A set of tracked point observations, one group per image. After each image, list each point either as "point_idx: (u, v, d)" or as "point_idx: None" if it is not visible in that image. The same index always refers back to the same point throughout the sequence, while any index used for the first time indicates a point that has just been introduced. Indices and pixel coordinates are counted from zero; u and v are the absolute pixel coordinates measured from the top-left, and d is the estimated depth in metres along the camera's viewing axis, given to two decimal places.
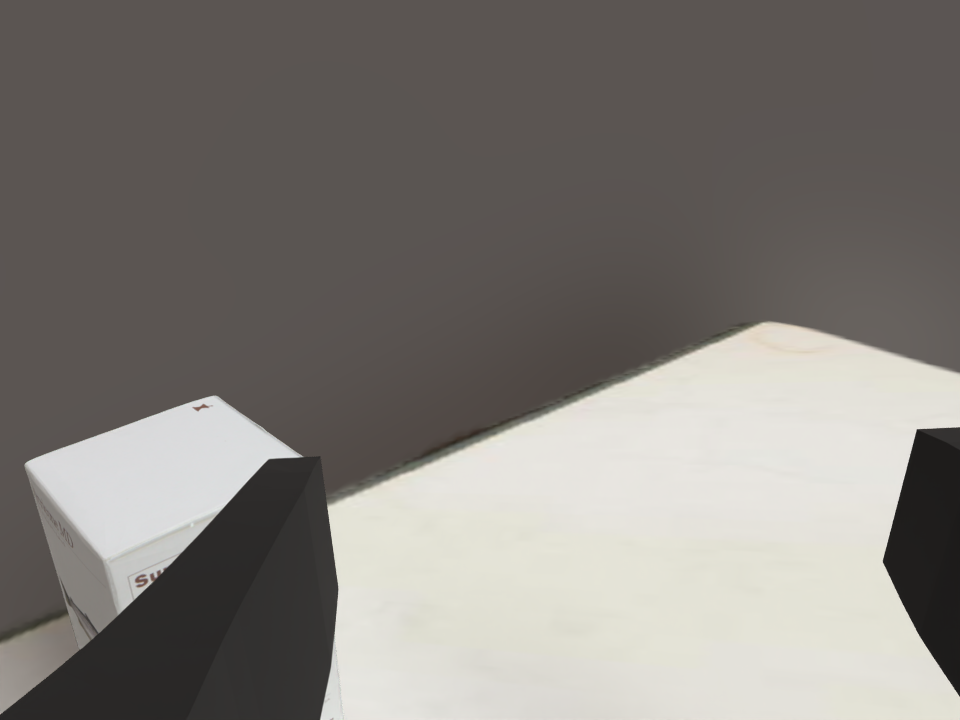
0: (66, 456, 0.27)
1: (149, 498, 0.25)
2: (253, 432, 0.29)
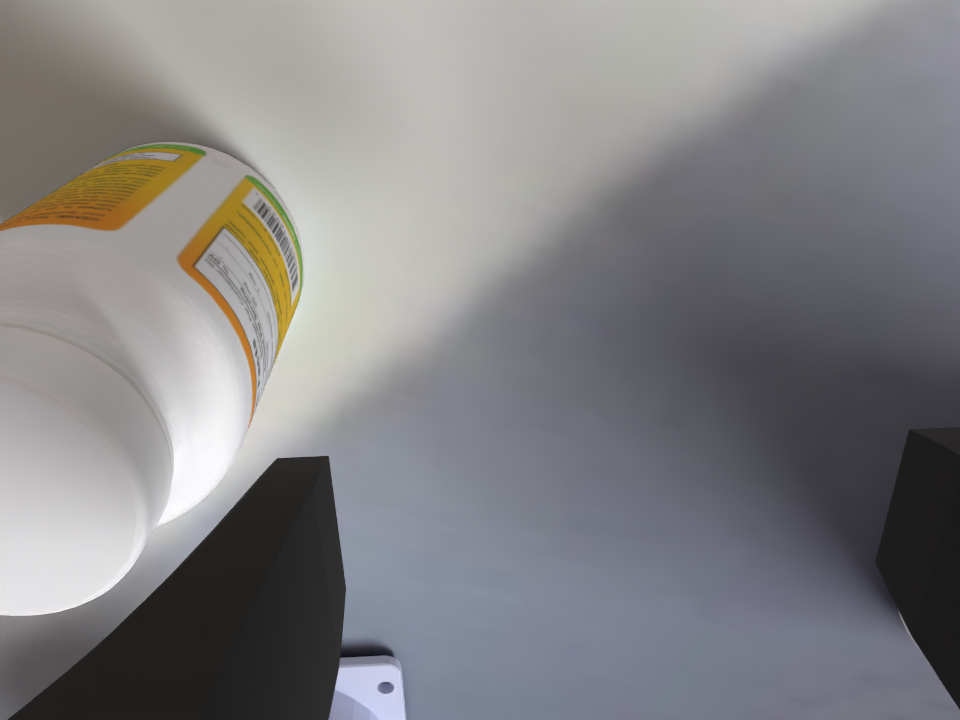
0: None
1: None
2: None
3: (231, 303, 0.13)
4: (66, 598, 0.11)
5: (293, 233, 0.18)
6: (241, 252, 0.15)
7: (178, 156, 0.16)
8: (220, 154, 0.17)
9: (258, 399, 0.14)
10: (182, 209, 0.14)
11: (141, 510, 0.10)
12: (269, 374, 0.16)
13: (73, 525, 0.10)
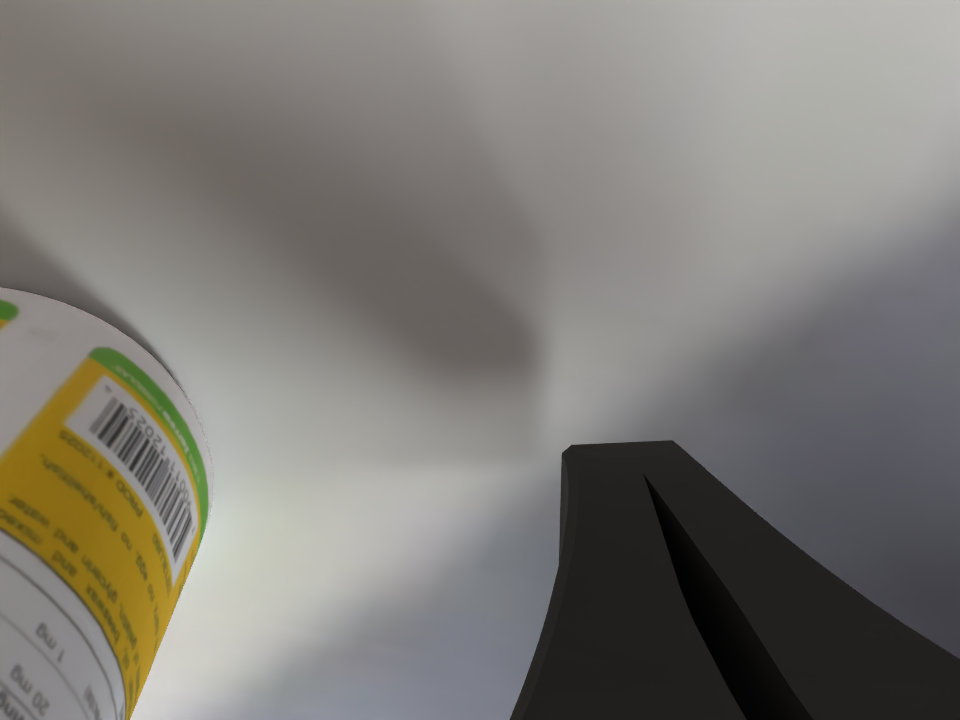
0: None
1: None
2: None
3: None
4: None
5: (185, 439, 0.10)
6: (25, 576, 0.07)
7: None
8: (49, 309, 0.10)
9: None
10: None
11: None
12: None
13: None
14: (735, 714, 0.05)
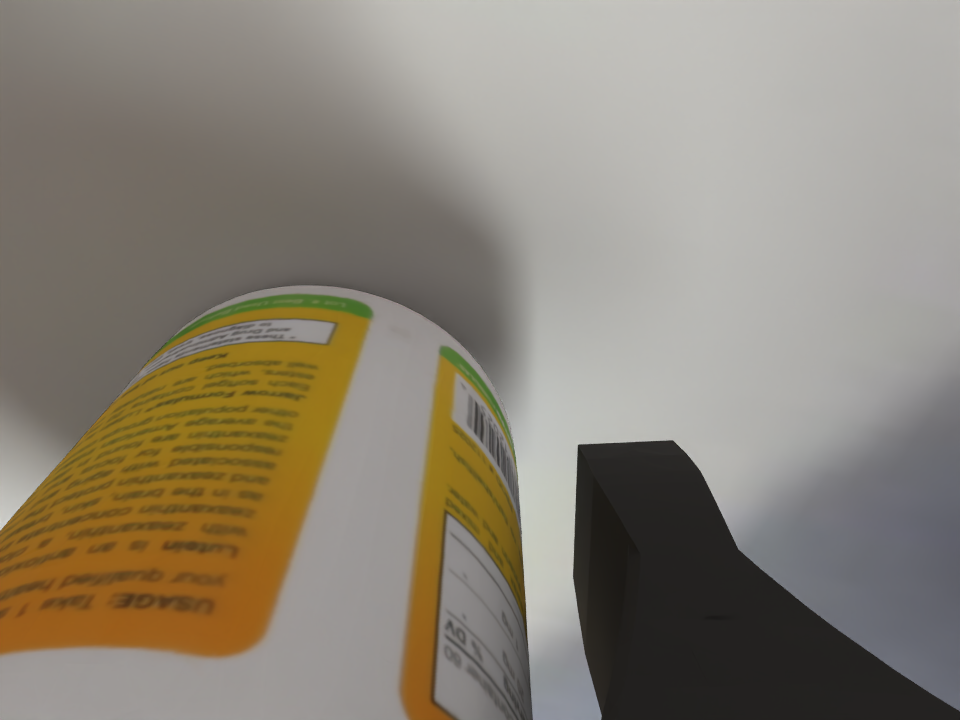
0: None
1: None
2: None
3: None
4: None
5: (510, 438, 0.10)
6: (482, 565, 0.07)
7: (331, 328, 0.09)
8: (393, 309, 0.10)
9: None
10: (373, 494, 0.07)
11: None
12: None
13: None
14: (827, 709, 0.05)
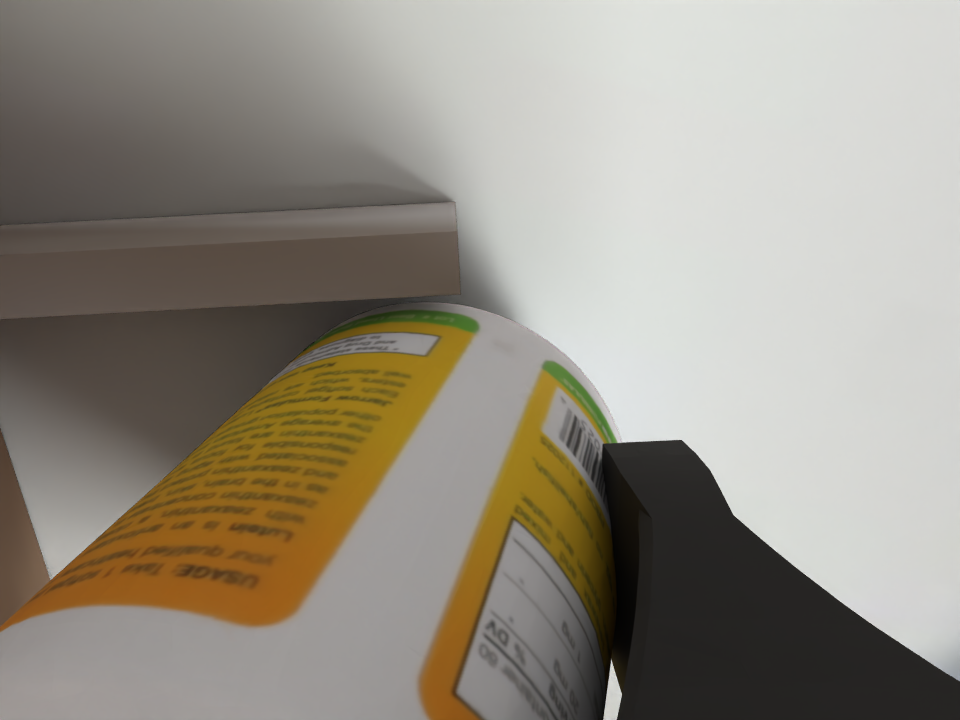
0: None
1: None
2: None
3: None
4: None
5: None
6: (545, 573, 0.07)
7: (434, 342, 0.09)
8: (501, 324, 0.10)
9: None
10: (436, 494, 0.07)
11: None
12: None
13: None
14: (843, 709, 0.05)
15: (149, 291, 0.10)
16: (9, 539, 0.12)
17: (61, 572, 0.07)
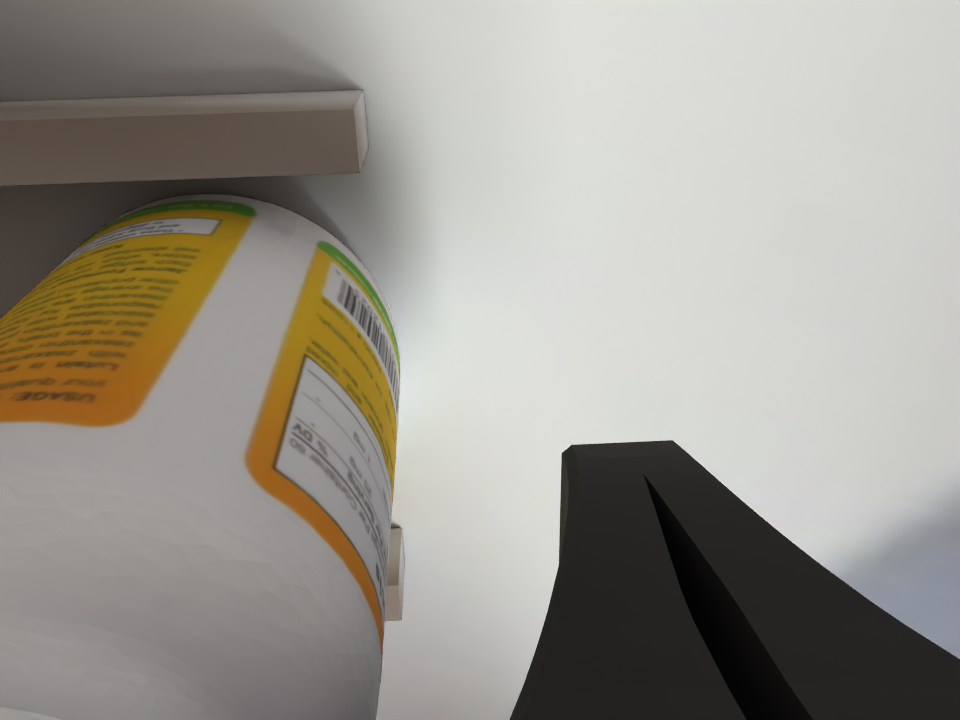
0: None
1: None
2: None
3: (341, 517, 0.07)
4: None
5: (388, 321, 0.12)
6: (336, 397, 0.09)
7: (215, 223, 0.10)
8: (276, 211, 0.11)
9: None
10: (239, 336, 0.08)
11: None
12: None
13: None
14: (735, 716, 0.05)
15: (58, 163, 0.10)
16: None
17: None
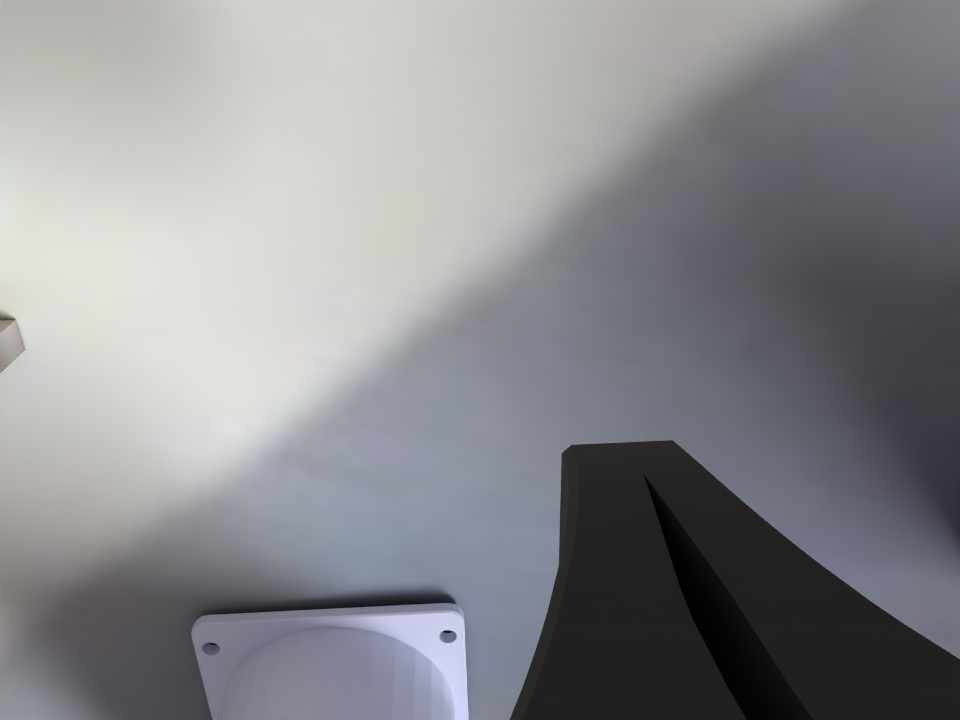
0: None
1: None
2: None
3: None
4: None
5: None
6: None
7: None
8: None
9: None
10: None
11: None
12: None
13: None
14: (735, 716, 0.05)
15: None
16: None
17: None
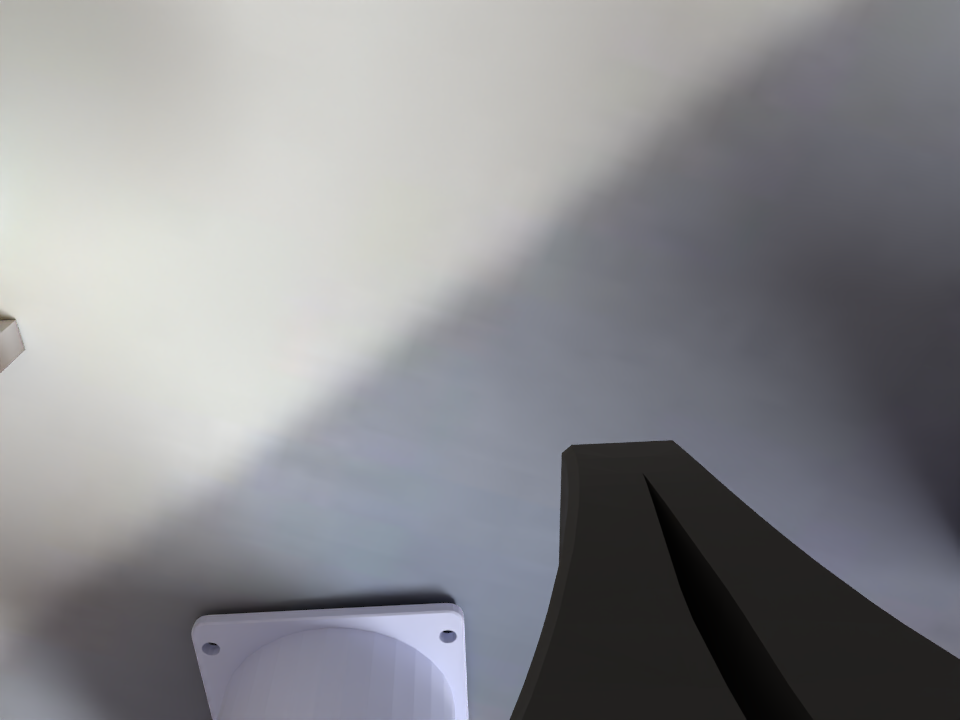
0: None
1: None
2: None
3: None
4: None
5: None
6: None
7: None
8: None
9: None
10: None
11: None
12: None
13: None
14: (735, 716, 0.05)
15: None
16: None
17: None
